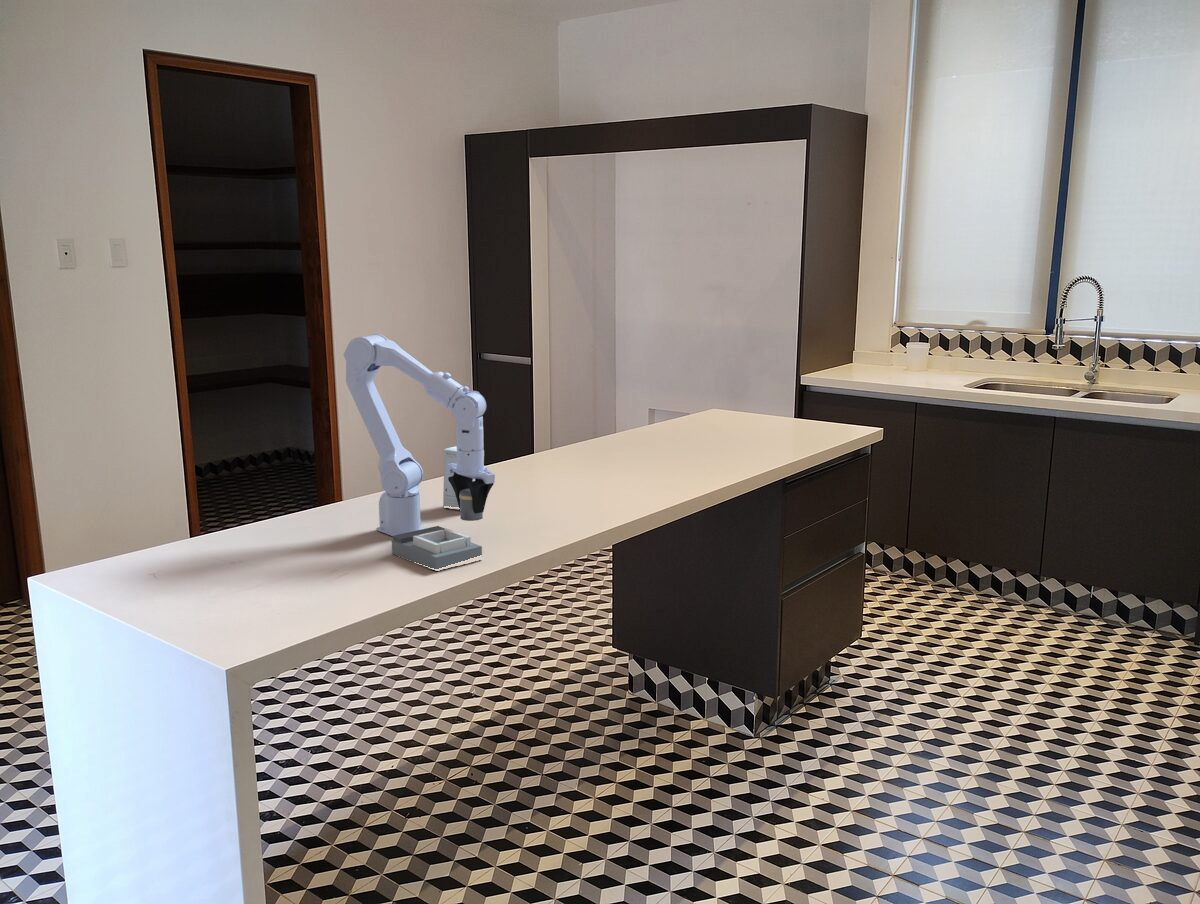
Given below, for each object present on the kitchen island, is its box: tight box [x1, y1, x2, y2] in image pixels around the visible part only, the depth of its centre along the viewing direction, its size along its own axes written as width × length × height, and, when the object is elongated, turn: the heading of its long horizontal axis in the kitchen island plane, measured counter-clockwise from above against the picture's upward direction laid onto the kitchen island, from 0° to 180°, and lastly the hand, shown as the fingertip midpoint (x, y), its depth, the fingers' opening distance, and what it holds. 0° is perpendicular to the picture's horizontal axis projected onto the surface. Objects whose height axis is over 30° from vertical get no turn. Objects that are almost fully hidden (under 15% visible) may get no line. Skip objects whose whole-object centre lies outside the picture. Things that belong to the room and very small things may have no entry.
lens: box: [459, 489, 484, 522], centre depth 210 cm, size 5×5×6 cm
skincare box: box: [442, 445, 475, 507], centre depth 234 cm, size 8×6×15 cm
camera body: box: [391, 525, 483, 569], centre depth 197 cm, size 16×11×5 cm
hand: (471, 510), depth 211 cm, fingers closed on lens, 5 cm apart
